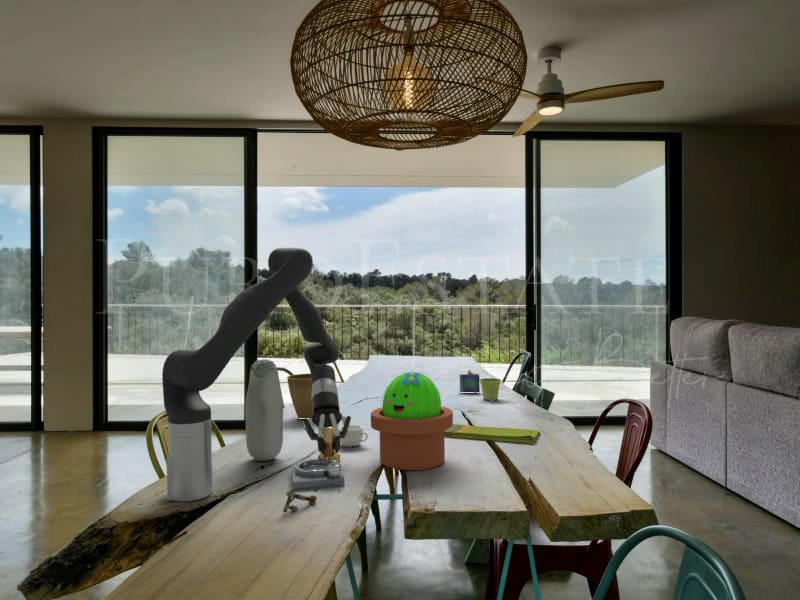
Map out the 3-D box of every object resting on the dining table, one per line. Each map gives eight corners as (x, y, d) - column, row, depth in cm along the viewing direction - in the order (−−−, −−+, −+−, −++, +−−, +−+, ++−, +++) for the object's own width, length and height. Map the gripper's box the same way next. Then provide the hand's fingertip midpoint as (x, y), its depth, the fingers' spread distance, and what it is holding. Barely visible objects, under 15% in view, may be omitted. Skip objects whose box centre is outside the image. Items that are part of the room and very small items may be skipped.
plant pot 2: (503, 401, 232) (502, 381, 232) (481, 401, 232) (480, 381, 232) (499, 397, 242) (499, 378, 242) (478, 397, 242) (478, 378, 242)
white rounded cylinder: (243, 457, 154) (242, 358, 154) (280, 452, 158) (278, 356, 158) (248, 467, 145) (247, 362, 145) (286, 462, 149) (285, 360, 149)
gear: (318, 468, 143) (318, 430, 143) (317, 461, 149) (316, 425, 149) (341, 466, 145) (340, 428, 145) (338, 460, 150) (338, 424, 150)
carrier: (293, 490, 127) (292, 466, 127) (291, 472, 140) (291, 450, 140) (344, 485, 130) (344, 462, 130) (338, 468, 143) (338, 447, 143)
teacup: (332, 446, 164) (332, 429, 164) (346, 440, 171) (346, 423, 171) (360, 450, 160) (360, 432, 160) (374, 444, 166) (373, 426, 166)
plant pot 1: (323, 412, 214) (323, 372, 214) (331, 420, 200) (330, 377, 200) (285, 415, 210) (284, 374, 210) (290, 423, 195) (289, 379, 195)
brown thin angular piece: (278, 510, 113) (285, 488, 114) (305, 515, 118) (312, 494, 120) (283, 512, 112) (290, 490, 113) (311, 517, 117) (317, 495, 119)
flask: (459, 393, 253) (459, 370, 253) (459, 392, 256) (459, 369, 256) (479, 393, 252) (479, 370, 252) (479, 392, 255) (479, 369, 255)
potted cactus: (395, 446, 163) (394, 363, 163) (464, 455, 153) (463, 367, 153) (356, 467, 144) (355, 372, 144) (432, 479, 134) (431, 377, 134)
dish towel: (436, 426, 191) (436, 417, 191) (540, 434, 178) (540, 424, 178) (421, 436, 177) (421, 426, 177) (533, 446, 163) (533, 436, 163)
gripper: (300, 391, 153) (303, 446, 141) (350, 389, 156) (357, 442, 144) (300, 406, 158) (302, 460, 146) (348, 404, 161) (354, 456, 149)
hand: (329, 451), depth 145 cm, fingers closed on gear, 3 cm apart
